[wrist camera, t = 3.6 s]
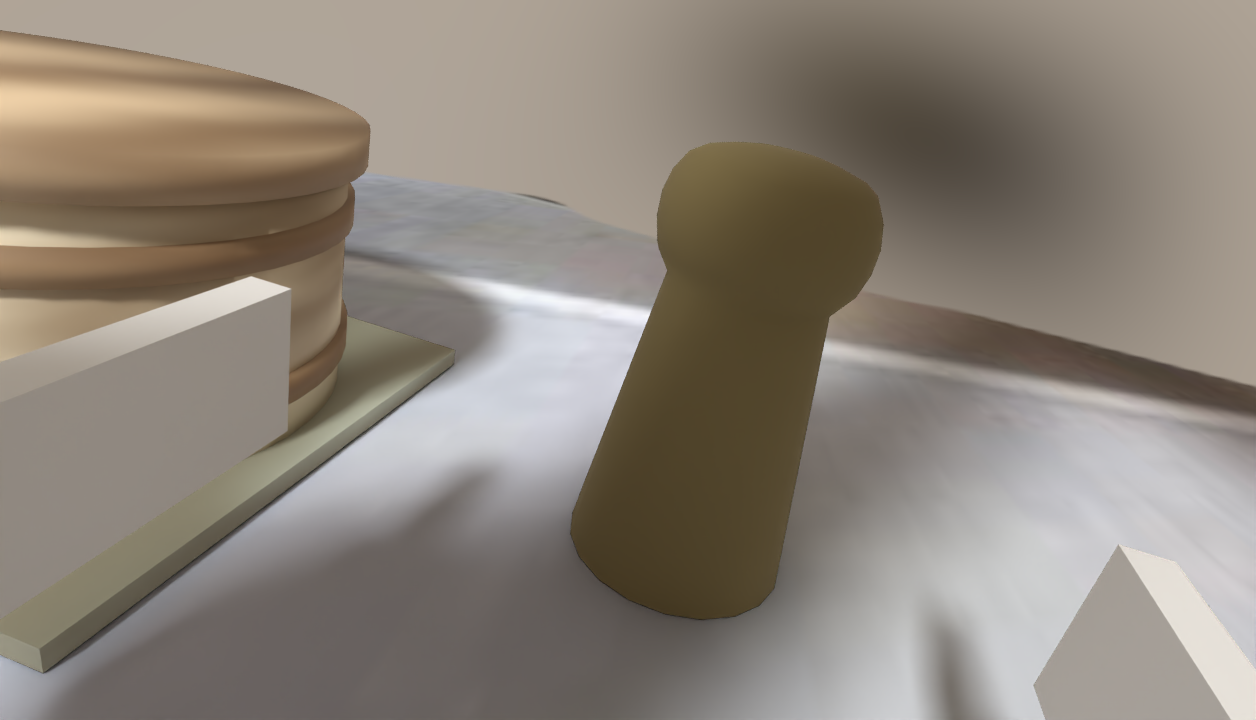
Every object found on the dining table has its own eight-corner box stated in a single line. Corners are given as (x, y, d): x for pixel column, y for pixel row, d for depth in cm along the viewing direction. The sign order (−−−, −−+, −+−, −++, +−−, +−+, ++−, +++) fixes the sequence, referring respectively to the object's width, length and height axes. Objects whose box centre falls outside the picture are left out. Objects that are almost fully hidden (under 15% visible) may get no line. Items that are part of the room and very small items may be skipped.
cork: (561, 471, 23) (637, 108, 18) (740, 486, 24) (850, 153, 20) (582, 614, 17) (695, 151, 13) (810, 623, 19) (983, 208, 14)
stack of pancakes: (453, 364, 28) (483, 134, 24) (42, 673, 13) (-27, 211, 10) (101, 252, 30) (82, 28, 27) (-574, 409, 16) (-805, -37, 12)
